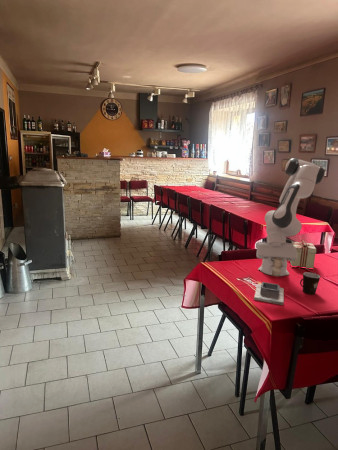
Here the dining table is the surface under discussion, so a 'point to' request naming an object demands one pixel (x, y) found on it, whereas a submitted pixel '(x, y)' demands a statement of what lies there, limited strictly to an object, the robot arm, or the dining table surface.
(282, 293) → the grey block with recess
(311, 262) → the gift box
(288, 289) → the dining table surface
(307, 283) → the coffee mug
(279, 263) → the disc
